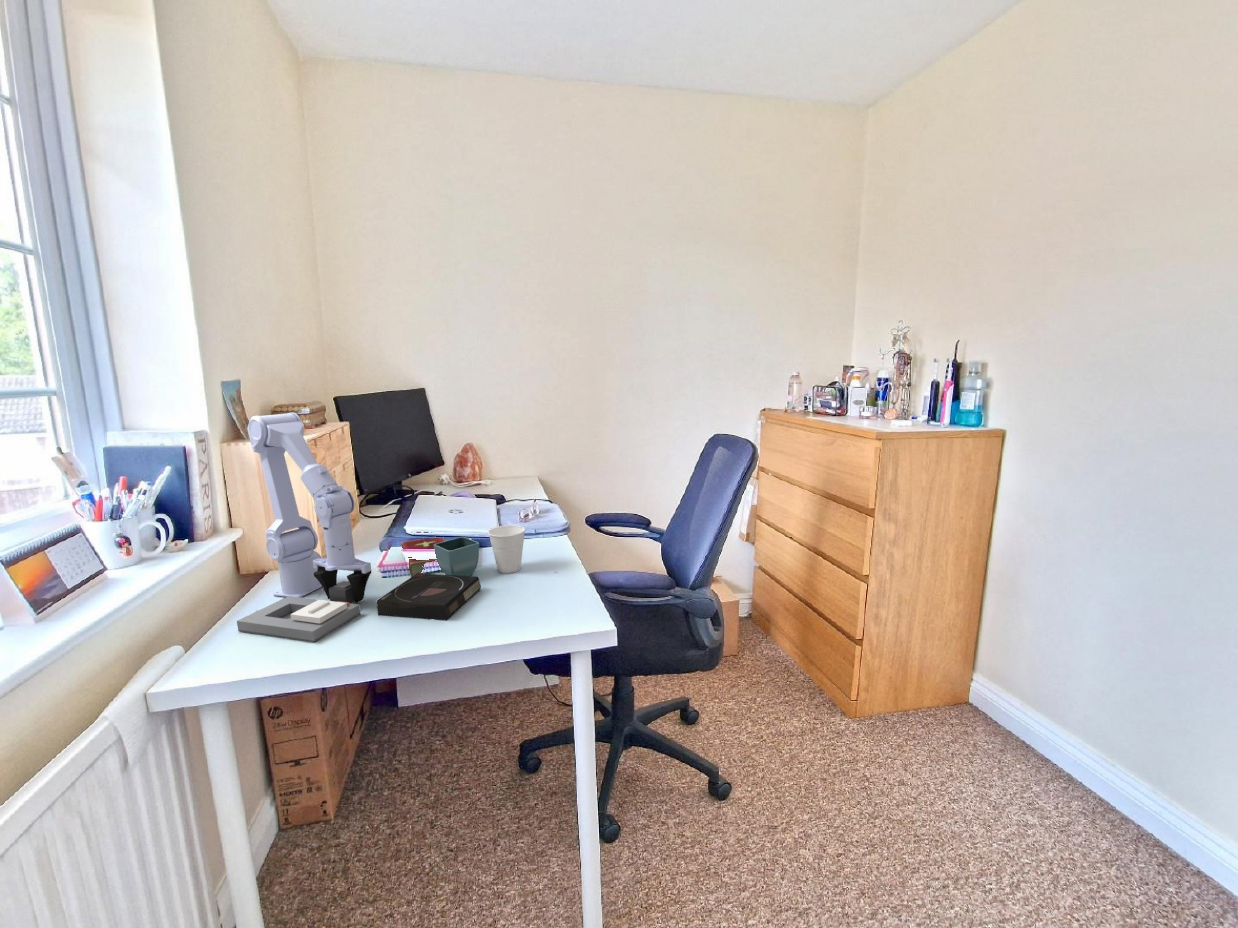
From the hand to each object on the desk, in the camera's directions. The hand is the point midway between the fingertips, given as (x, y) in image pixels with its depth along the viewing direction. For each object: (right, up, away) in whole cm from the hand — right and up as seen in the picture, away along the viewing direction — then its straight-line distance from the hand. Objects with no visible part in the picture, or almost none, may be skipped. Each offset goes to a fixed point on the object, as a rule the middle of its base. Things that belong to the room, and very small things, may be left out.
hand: (345, 599), depth 129 cm
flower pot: (+22, +2, +17) cm, 27 cm away
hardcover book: (+9, +3, +29) cm, 31 cm away
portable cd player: (+20, -2, +1) cm, 20 cm away
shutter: (0, -1, -10) cm, 10 cm away
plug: (0, -1, 0) cm, 1 cm away
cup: (+34, +3, +20) cm, 40 cm away
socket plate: (-6, -3, -8) cm, 11 cm away
